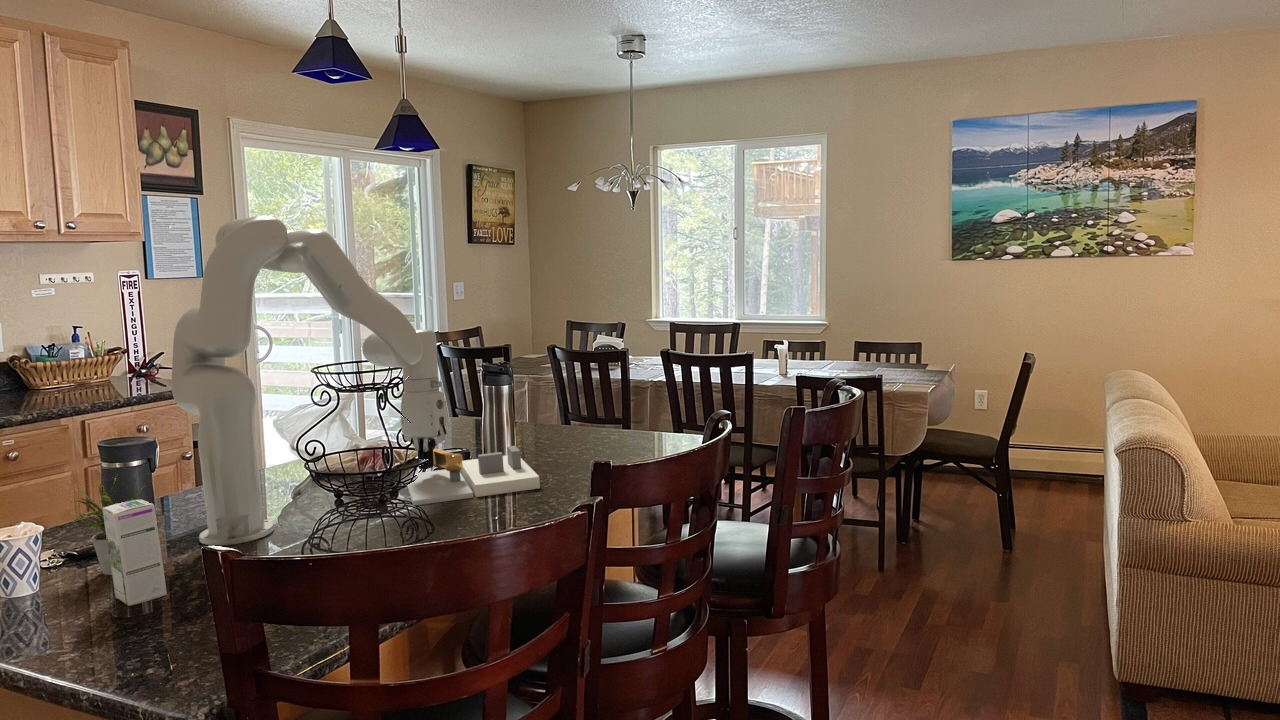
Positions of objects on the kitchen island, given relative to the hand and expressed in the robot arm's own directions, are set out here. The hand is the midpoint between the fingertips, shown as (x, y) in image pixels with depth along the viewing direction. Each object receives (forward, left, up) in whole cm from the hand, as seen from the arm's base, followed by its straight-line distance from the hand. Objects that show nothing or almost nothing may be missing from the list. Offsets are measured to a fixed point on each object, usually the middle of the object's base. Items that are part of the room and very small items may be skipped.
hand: (426, 467), depth 196 cm
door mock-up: (-6, -8, -3) cm, 11 cm away
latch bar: (-2, -4, 0) cm, 4 cm away
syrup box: (-49, +48, -3) cm, 69 cm away
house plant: (-32, +55, -3) cm, 64 cm away
